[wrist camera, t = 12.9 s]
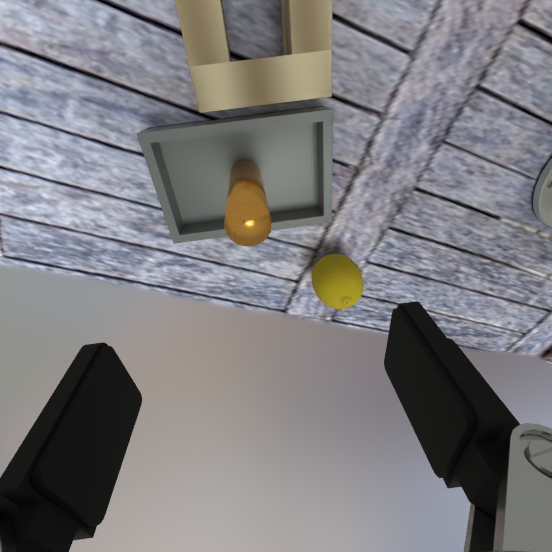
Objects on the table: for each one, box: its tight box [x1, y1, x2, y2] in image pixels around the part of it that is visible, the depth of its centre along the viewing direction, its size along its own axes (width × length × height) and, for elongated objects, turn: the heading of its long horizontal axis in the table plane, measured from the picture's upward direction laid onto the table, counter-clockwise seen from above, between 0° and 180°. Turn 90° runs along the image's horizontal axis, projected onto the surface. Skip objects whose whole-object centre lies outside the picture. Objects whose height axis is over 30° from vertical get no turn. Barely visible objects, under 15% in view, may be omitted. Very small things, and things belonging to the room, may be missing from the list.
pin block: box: [175, 0, 332, 113], centre depth 21 cm, size 10×10×5 cm
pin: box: [224, 159, 272, 246], centre depth 23 cm, size 3×3×12 cm
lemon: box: [312, 254, 363, 309], centre depth 33 cm, size 6×6×8 cm
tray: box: [137, 106, 333, 243], centre depth 28 cm, size 16×10×4 cm, turn 95°
